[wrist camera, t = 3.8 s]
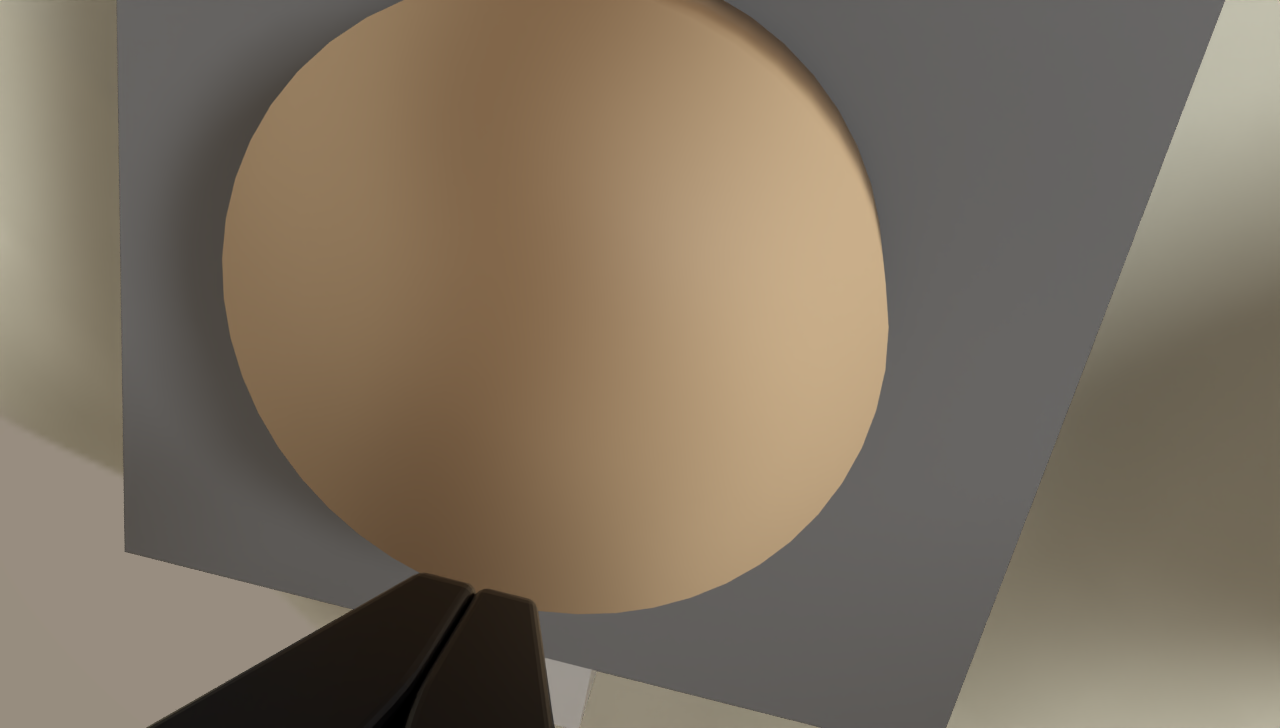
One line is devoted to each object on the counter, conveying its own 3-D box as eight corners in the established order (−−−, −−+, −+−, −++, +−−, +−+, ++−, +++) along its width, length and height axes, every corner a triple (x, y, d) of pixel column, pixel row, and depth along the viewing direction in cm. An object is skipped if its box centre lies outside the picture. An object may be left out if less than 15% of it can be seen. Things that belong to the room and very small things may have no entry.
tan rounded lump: (932, -9, 16) (980, 65, 10) (808, 437, 19) (795, 676, 13) (436, -112, 16) (230, -92, 11) (392, 339, 19) (214, 532, 14)
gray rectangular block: (1141, -170, 17) (1294, -181, 11) (882, 607, 23) (896, 858, 17) (345, -325, 17) (110, -409, 12) (297, 464, 23) (126, 657, 18)
